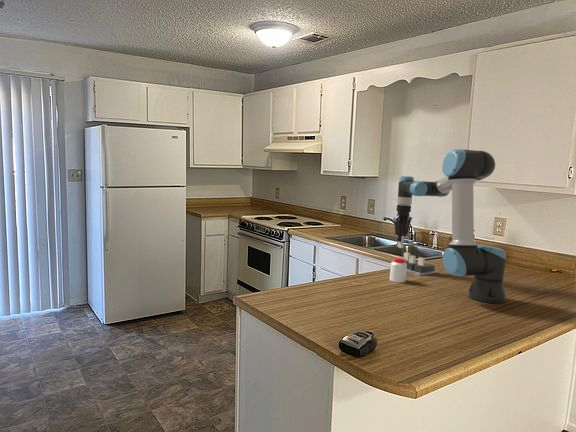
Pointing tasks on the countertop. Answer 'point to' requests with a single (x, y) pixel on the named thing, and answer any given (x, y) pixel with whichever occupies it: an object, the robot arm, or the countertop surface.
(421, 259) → the handle far
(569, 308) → the countertop surface
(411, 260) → the handle mid
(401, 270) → the pill bottle
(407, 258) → the handle
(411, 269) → the panel
